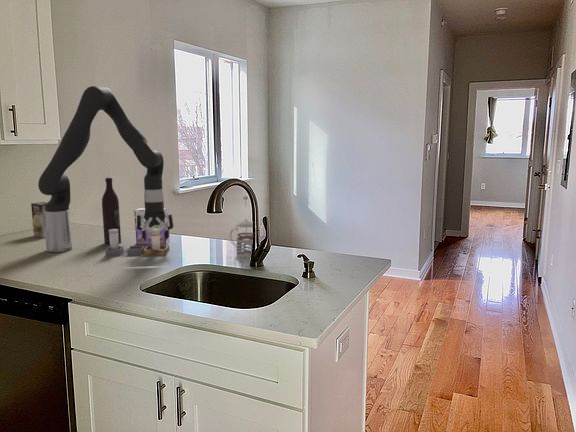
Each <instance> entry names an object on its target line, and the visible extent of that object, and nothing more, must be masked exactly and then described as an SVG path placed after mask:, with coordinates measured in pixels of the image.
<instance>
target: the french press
mask: <svg viewBox="0 0 576 432" xmlns="http://www.w3.org/2000/svg"><path fill="white" fill-rule="evenodd" d="M242 199H243V200H245V202H244V203H245V205H244V206H247V200H248V199H249V197H248V196H246V195H245V196H243V198H242ZM253 222H254V221H252V220H248V219H245V220H241V221H239V222H237V223H236V224H235V227H233V229H231V231H230V232H229V237H230V238H229V240H230V243H231V244H232V245H233V246H235V248H236V249H235V251H236V254H235V255H236V256H235V257H234V258H235V259H236V260H235V259H234V260H235V261H238V260H242V261H241V262H251V261H250V258H251V252H252V249H253V248H252V246H253V245H252V243H253V237H254V236H253V233H254V232H247V230H245V232H239V233H237V234H236V235H237V236H238V237H237V238H236V243H235V242H234V239H233V238H232V233H233V231H234V230H235V231H236V232H238V230H239V228H253Z"/></svg>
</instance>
